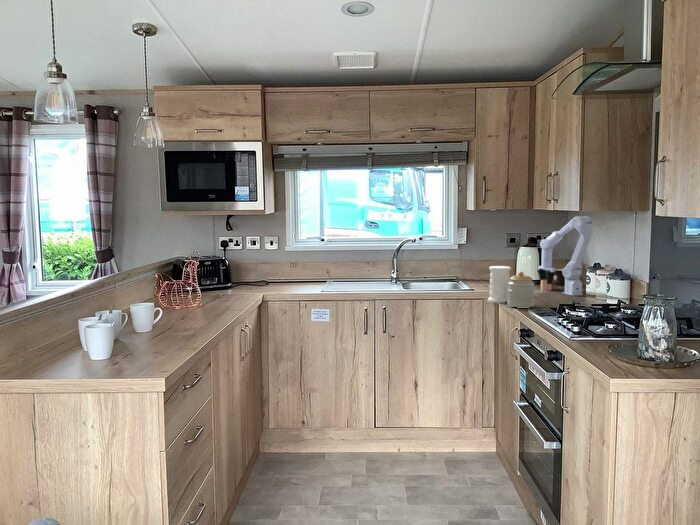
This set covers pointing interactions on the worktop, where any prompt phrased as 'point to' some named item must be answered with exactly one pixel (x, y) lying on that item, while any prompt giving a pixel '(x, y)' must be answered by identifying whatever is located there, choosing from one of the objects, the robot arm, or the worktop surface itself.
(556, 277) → the coffee mug
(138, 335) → the worktop surface
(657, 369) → the worktop surface
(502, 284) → the decorative container
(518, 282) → the jar
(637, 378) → the worktop surface
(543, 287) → the pot terracotta
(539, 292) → the coaster
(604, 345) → the worktop surface
